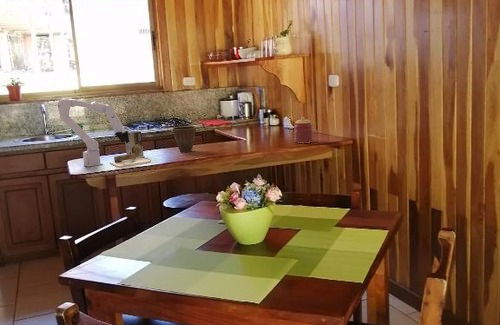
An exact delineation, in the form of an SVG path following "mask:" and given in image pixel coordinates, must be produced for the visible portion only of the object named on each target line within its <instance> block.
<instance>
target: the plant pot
mask: <svg viewBox="0 0 500 325" xmlns="http://www.w3.org/2000/svg"><path fill="white" fill-rule="evenodd" d="M172 131H173V135H174V139H175V142H176V145H177V148H178V151H179V152H180V153H190V152H192V150H193V147H194V142H195V136H196V126H193V125H184V126H183V125H182V126H181V125H180V126H175V127H173V128H172Z"/></svg>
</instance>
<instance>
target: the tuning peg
mask: <svg viewBox="0 0 500 325" xmlns="http://www.w3.org/2000/svg"><path fill="white" fill-rule="evenodd" d="M136 158H137V157H136V154H135V153H134V154H127V153H126V154H121V155H115V156H113V159H114V161H115V162H122V161H124V160H131V159H136Z"/></svg>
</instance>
